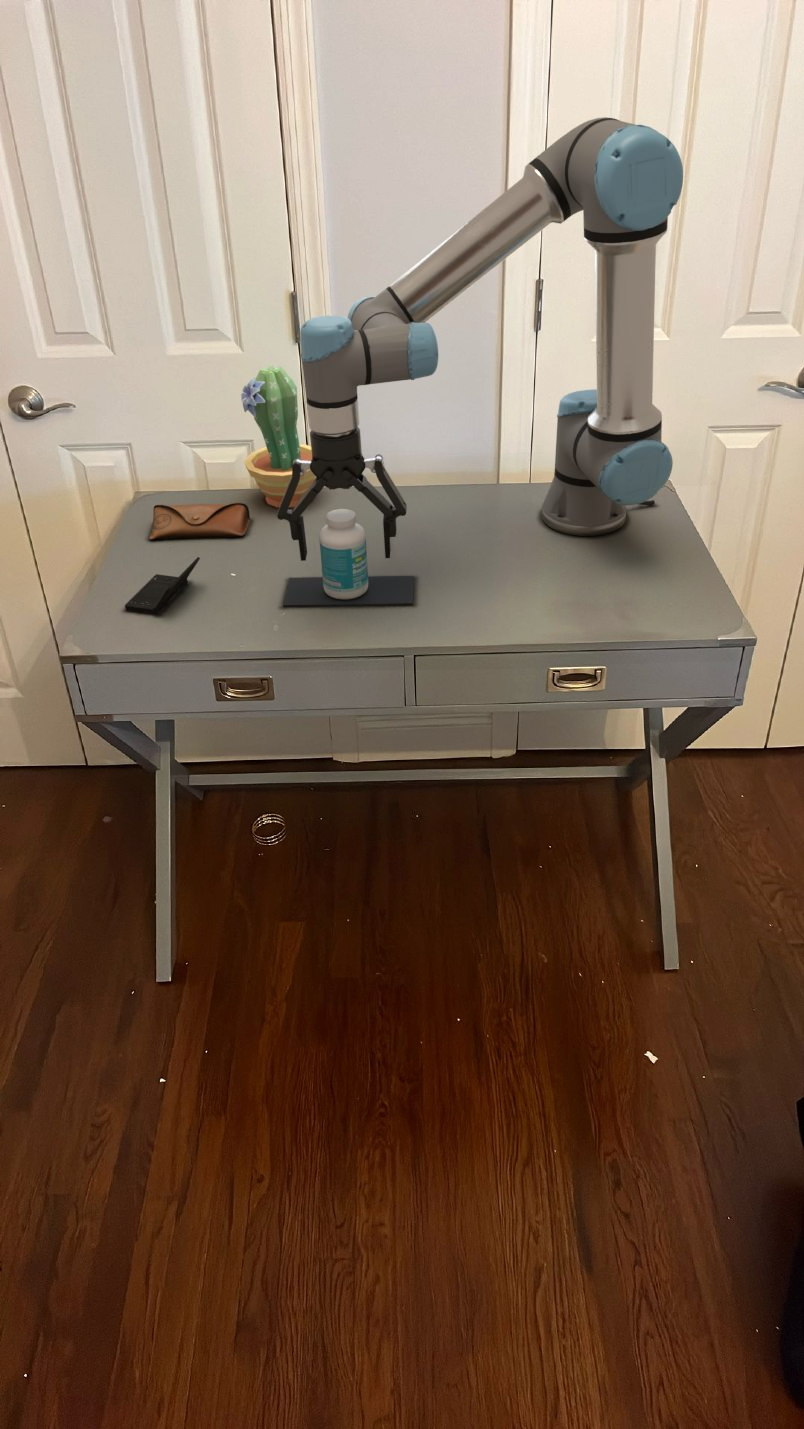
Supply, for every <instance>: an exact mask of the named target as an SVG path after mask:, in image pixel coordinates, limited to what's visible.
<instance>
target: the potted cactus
mask: <svg viewBox="0 0 804 1429" xmlns="http://www.w3.org/2000/svg"><path fill="white" fill-rule="evenodd" d="M241 391H242V392H241V394H240V396H241V403H242V408H243V412H244V413H247V412H249V413H250V414H251V415H252V416H253V419H254V421H255V423H256V424H257V426H258V428H259V430H260V432H261V434H262V437H263V440H264V443H265V446H264V447H261V448H259V449H257V450H255V451H252V452H250V453H249V455H247V457H246V458H245V459H244V460H243V462H244V465H245V468H246V470H247V472H248V474H249V477H251V478H253V479H254V480H255V482H256V485H257V487H258V489H259V490H260V491H261V493H263V494H264V495H265V501H266V504H268V505H270V506H272V507H275V508H279V507H280V504H281V502H282V499H283V497H284V494H285V492H286V489H287V487H288V484H289V482H290V479H291V477H292V465H293V462H294V459H295V458H296V457H299V458H301V460H304V461H311V460H312V450H311V445H308V444H304V443H303V444H301V443H300V440H299V434H298V428H297V426H298V417H299V408H298V407H299V406H298V387H297V385H296V383H295V382H294V379H292V377H291V376H290V375H289V374H288V373H287V372H286V371H285V370H284V368H282V366H278V367H276V368H275V367H274V366H273V365H269V366H268V367H267V369H265V368H260V369H259V371H258V373H257V375H256V377H253V378H252V379H250V380H249V381H248V383H246V384H245V385H244V386H243V388H242V390H241ZM315 478H316V476H315V475H314V474H313V473H312V471H311V470H307V471H306V474H305V475H302V476H300V480H299V483H298V485H297V488H296V490H295V493H294V495H293V498H292V500H291V503H290V505H289V508H294V506H295V505H296V504H297V502H298V501H299V500H300V499H301V497H302V496H303V495H304V493H305V492H306V491H307V490H308V488H309V487H310V486H311V484H312V483H313V482H314V480H315ZM289 508H288V509H289Z"/></svg>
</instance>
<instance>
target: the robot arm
mask: <svg viewBox="0 0 804 1429" xmlns="http://www.w3.org/2000/svg"><path fill="white" fill-rule="evenodd" d="M682 162H683V161H682V159H681V156H680V153H679V151H678V149H677V148H676V146H675V144H673V142H672V141H671V140H670V139H669V138H668V137H667V136H665V135H664V134H662V133H661V132H659V131H658V130H657V129H654V128H652V127H651V126H649V125H645V124H644V125H643V124H636V123H631V122H626V121H623V120H620V119H617V118H614V117H607V116H606V117H605V116H604V117H597V118H593V119H590V120H589V119H588V120H586V121H584V122H582V123H581V124H579V125H577V126H575V127H573V128H572V129H571V130H569V131H568V132H567V133H565V134H563V135H562V136H561V137H559V138H558V139H557V140H556V141H555V142H554V143H552V144H551V145H550V146H548V147H547V148H546V149H545V150H543V151H542V152H541V153H539V154H538V155H537V156H536V157H535V158H533V160H531V161H530V162H528V163H527V164H526V165H525V166H524V169H523V176H522V178H521V179H519V180H518V181H517V182H516V183H514V184H513V185H512V186H511V187H509V188H508V189H506V190H505V191H504V192H503V193H502V194H501V195H500V196H498V197H497V198H496V199H495V200H493V201H492V202H491V203H489V205H487V206H486V207H485V208H483V209H482V210H481V211H480V212H479V213H478V214H476V215H475V216H474V217H472V218H471V219H470V220H469V221H467V222H466V223H465V224H464V225H463V226H461V227H460V228H459V229H458V230H456V231H455V232H454V233H453V234H452V235H450V236H449V237H448V238H446V239H445V240H444V241H443V242H441V243H440V244H439V245H438V246H436V247H435V248H434V249H433V250H431V252H430V253H428V254H427V255H426V256H425V257H424V258H423V257H422V259H421V260H420V261H419V262H417V263H416V264H415V265H413V267H411V268H410V269H409V270H407V271H406V272H405V273H404V274H402V275H401V276H400V277H399V278H397V279H396V280H395V281H394V282H392V283H391V284H390V285H389V286H387V287H386V288H384V289H383V290H382V291H381V292H380V293H378V294H377V295H375V296H373V295H369V296H365V297H361V298H359V299H358V300H356V301H355V302H354V303H353V304H352V306H351V307H350V309H349V311H348V314H347V316H343V315H338V314H337V315H329V314H327V315H319V316H315V317H312V318H310V319H307V320H306V321H304V322H303V324H301V327H300V329H299V330H300V332H299V333H300V352H301V353H300V358H301V365H302V373H303V382H304V390H305V399H306V400H305V402H306V403H305V404H306V414H307V421H308V428H309V430H310V432H309V440H310V446H311V450H312V460H311V461H304V460H301V458H299V457H296V458H295V459H294V462H293V465H292V477H291V479H290V482H289V484H288V487H287V489H286V492H285V494H284V497H283V499H282V502H281V504H280V507H278V510H277V512H276V513H277V514H276V517H277V520H279V521H282V520H285V521H287V522H288V523H289V529H290V536H291V539H292V541H298V548H299V558H300V561H301V562H305V561H307V557H308V548H307V547H308V546H307V539H306V538H307V537H306V531H305V520H304V516H303V513H304V512H305V511H306V510H307V508H308V507H309V506H310V505H311V503H312V502H313V501H314V499H315V498H316V496H317V495H318V494H320V493H321V491H322V490H323V489H324V487H325V488H328V490H336V489H342V490H350V488H352V487H353V488H355V489H356V491H358V492H359V493H361V494H362V495H363V496H364V497H365V498H366V499H367V500H368V501H369V502H370V503H372V505H374V506H375V508H377V509H378V511H380V512H381V514H383V518H382V526H383V542H384V543H383V544H384V557H385V558H384V559H391V551H392V550H391V538H396V535H397V518H398V517H400V516H401V517H404V516H406V515H407V510H408V509H407V508H408V507H407V503H406V501H405V500H404V498H403V496H402V495H401V493H400V491H399V490H398V488H397V486H396V484H395V483H394V481H393V479H392V478H391V476H390V474H389V472H388V471H387V469H386V468H385V463H384V462H385V461H384V457H383V455H382V454H380V453H379V454H376V455H375V456H374V457H369V458H365V457H364V455H363V452H362V450H363V449H362V439H361V438H362V437H361V428H360V427H359V426H360V412H359V411H360V410H359V399H358V387H359V386H369V385H376V384H384V383H385V384H386V383H393V382H401V381H409V380H411V381H414V380H416V379H420V378H425V377H426V378H427V377H430V376H432V375H434V374H435V372H436V371H437V368H438V364H439V346H438V339H437V335H436V332H435V329H434V327H433V326H432V324H431V323H429V322H427V321H429V320H431V318H432V317H434V316H435V315H437V314H438V313H439V312H440V311H442V310H443V309H444V308H446V306H448V305H449V304H450V303H451V302H453V301H454V300H455V299H457V298H458V297H459V296H461V295H462V294H463V293H464V292H466V290H468V289H469V288H471V287H472V286H473V285H474V284H475V283H477V282H478V281H479V280H480V279H482V278H484V276H486V275H487V274H488V273H489V272H491V271H492V270H493V269H495V268H496V267H497V266H498V265H499V264H502V263H503V261H505V260H506V259H507V258H508V257H510V256H511V255H512V254H513V253H516V251H517V250H518V249H520V248H521V247H522V246H524V245H525V244H527V242H529V241H530V240H531V239H532V238H534V237H535V236H536V235H537V234H539V233H540V232H542V230H544V229H545V228H547V226H550V224H555V225H562V224H563V223H565V221H567V220H568V219H569V218H571V217H572V216H573V215H576V214H578V213H579V212H580V213H581V212H582V211H583V212H582V213H583V214H582V215H583V219H582V220H583V239H584V242H586V243H587V244H588V245H589V246H590V247H591V248H593V250H594V281H595V282H594V283H595V285H594V287H595V289H594V290H595V292H594V293H595V344H596V345H595V353H596V354H595V357H596V358H595V359H596V363H595V364H596V389H584V390H576V391H573V392H569V393H567V394H566V395H564V396H562V397H561V399H560V401H559V405H558V411H557V414H556V418H557V423H556V441H555V456H554V457H555V459H554V474H553V478H552V481H551V483H550V486H549V488H548V490H547V493H546V494H545V495H546V496H545V498H544V501H543V503H542V506H541V520H542V521H543V523H544V524H546V525H547V527H549V528H551V529H553V530H555V531H557V532H560V533H563V534H566V535H567V534H568V535H572V536H581V537H583V536H584V537H590V536H591V537H592V536H601V535H605V534H606V535H607V534H610V533H612V532H615V531H617V530H619V529H621V528H622V527H623V525H624V524H625V523H626V518H627V506H635V505H636V506H637V505H640V506H653V505H655V503H656V502H655V500H654V499H652V498H654V497H655V496H656V495H657V494H658V492H659V491H660V490H661V489H663V488H664V487H665V486H666V484H667V483H668V481H669V479H670V477H671V474H672V471H673V466H674V465H673V464H674V462H673V461H674V460H673V456H672V453H671V451H670V449H669V447H668V446H667V444H665V443H664V442H663V441H662V435H663V434H662V432H663V430H662V427H663V414H662V413H663V412H662V411H661V410H660V409H659V408H658V407H657V406H656V405H655V404H653V394H654V393H653V392H654V390H653V389H654V387H653V386H654V350H655V347H654V344H655V343H654V342H655V304H656V303H655V300H656V299H655V298H656V259H657V258H656V257H657V256H656V255H657V244H658V243H659V241H660V240H661V239H662V238H663V236H665V235H666V234H667V232H668V221H669V220H668V218H669V216H670V215H671V213H672V210H673V208H674V206H676V205H678V203H679V199H680V197H681V194H682V190H683V183H684V168H683V166H684V165H683V163H682ZM366 468H367V469H369V470H370V472H371V473H373V474H375V475H376V478H377V481H379V483H380V485H381V487H382V489H383V490H384V492H385V493H386V495H387V497H388V498H389V500H390V501H391V503H392V504H391V503H390V501H389V500H388V499H387V498H386V497H385V496H383V494H382V493H381V492H379V490H377V488H376V487H375V486H374V485H372V483H371V482H370V481H369V480H368V478H367V477H366V476H365V475H364V474H363V473H364V471H365V470H366ZM307 470H311V471H312V473H313V474H314V475H315V476H316V478H315V480H314V482H313V483H312V484H311V486H310V487H309V488H308V490H307V491H306V492H305V493H304V495H303V496H302V497H301V499H300V500H299V501H298V502H297V504H296V505H295V506H294V507H292V508H291V509H289V505H290V503H291V500H292V498H293V495H294V493H295V490H296V488H297V485H298V483H299V480H300V476H302V475H305V474H306V471H307ZM651 499H652V500H651Z"/></svg>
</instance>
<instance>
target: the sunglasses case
mask: <svg viewBox="0 0 804 1429" xmlns="http://www.w3.org/2000/svg"><path fill="white" fill-rule="evenodd" d="M152 515H153V516H152V529H151V533H150V535H149V537H148V538H149V540H151V541H152V540H153V541H154V540H163V539H219V538H220V539H221V538H233V537H234V538H235V537H243V536H245V535H246V533H247V531H248V529H249V526H250V523H251V518H250V517H251V516H250V510H249V507H248V505H247V504H246V503H244V502H232V503H222V504H221V503H219V504H218V503H208V504H207V503H203V504H201V503H200V504H199V503H198V504H177V505H168V504H156V505H154V506H153V514H152Z"/></svg>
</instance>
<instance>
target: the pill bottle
mask: <svg viewBox="0 0 804 1429" xmlns="http://www.w3.org/2000/svg"><path fill="white" fill-rule="evenodd" d="M325 520H326V521H325V522H326V524H325V525H324V526H323V527H322V528H321V530H320V532H319V535H318V540H319V549H320V550H319V551H320V560H321V561H320V562H321V573H322V574H321V575H322V577H323V587H324V591H325V592H326V594H328V595H329V596H331V597H333V598H336V599H353V598H357V597H359V596H361V595H363V594H364V593H365V592H366V591H367V589H368V577H369V570H368V558H367V557H368V554H367V553H368V552H367V535H366V531H365V529H364V527H363V526H362V525H360V524H359V523H357V514H356V512H355V511H353V510H351V509H347V508H338V509H333V510H331V511H329V512H327V513H326V515H325Z"/></svg>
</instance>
